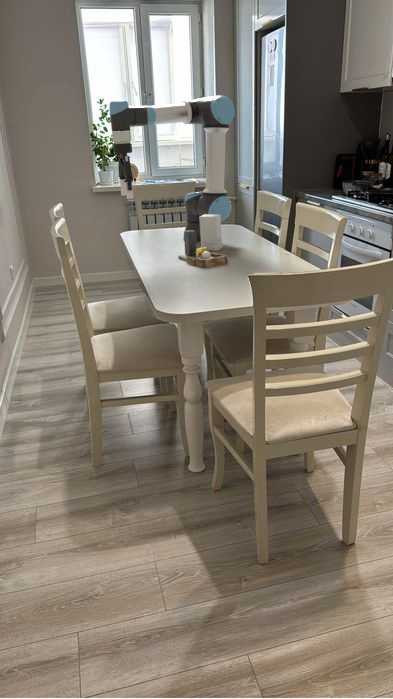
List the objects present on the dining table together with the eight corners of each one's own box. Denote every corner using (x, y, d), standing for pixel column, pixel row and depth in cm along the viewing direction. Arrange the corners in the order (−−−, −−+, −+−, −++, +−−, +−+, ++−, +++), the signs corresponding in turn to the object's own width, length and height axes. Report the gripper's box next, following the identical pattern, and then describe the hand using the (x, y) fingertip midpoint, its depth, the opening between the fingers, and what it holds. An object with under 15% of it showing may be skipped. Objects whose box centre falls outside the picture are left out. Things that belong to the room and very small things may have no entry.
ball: (207, 258, 219) (207, 249, 217) (212, 259, 216) (212, 251, 214) (200, 259, 217) (200, 251, 215) (205, 261, 214) (204, 252, 213)
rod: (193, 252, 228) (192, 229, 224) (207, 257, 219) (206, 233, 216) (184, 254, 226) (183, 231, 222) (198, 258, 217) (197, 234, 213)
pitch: (200, 254, 231) (200, 247, 230) (228, 262, 215) (228, 255, 213) (175, 259, 225) (175, 252, 224) (202, 268, 208) (202, 260, 207)
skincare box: (222, 248, 241) (221, 214, 235) (216, 251, 236) (216, 216, 230) (206, 247, 245) (204, 213, 239) (200, 250, 239) (198, 215, 233)
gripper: (108, 143, 221) (114, 194, 229) (117, 143, 199) (123, 200, 207) (126, 142, 223) (130, 193, 231) (137, 142, 201) (142, 199, 209)
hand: (127, 197), depth 219 cm, fingers open, 13 cm apart
